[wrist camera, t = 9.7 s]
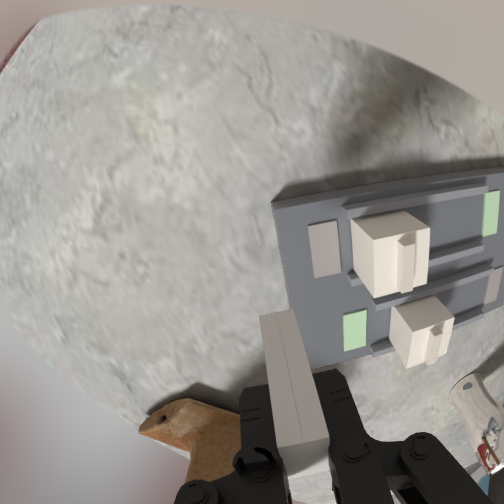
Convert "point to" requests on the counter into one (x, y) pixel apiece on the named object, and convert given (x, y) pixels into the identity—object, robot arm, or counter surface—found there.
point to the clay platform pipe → (198, 436)
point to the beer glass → (481, 421)
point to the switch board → (379, 309)
